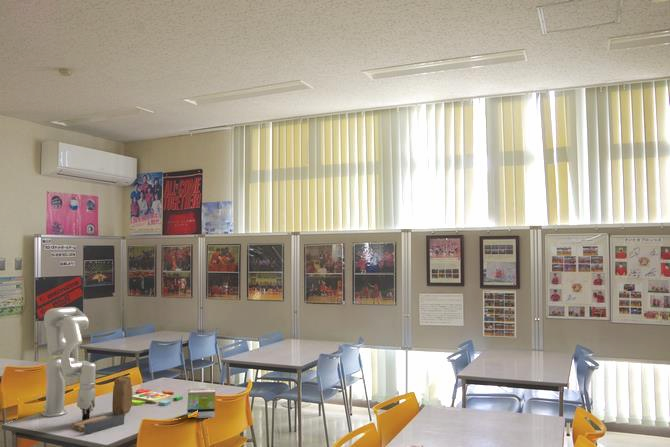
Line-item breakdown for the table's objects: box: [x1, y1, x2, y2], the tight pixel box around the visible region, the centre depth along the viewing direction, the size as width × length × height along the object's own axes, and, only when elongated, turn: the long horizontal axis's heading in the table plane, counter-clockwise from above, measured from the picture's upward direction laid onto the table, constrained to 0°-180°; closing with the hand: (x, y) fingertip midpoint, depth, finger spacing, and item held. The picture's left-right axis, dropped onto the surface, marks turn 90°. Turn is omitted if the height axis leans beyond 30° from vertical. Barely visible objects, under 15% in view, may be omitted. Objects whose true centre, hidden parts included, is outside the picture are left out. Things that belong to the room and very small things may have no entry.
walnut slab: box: [70, 415, 108, 433], centre depth 288 cm, size 12×18×3 cm, turn 146°
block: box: [112, 376, 133, 415], centre depth 314 cm, size 11×8×20 cm
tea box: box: [186, 387, 216, 419], centre depth 310 cm, size 15×10×15 cm
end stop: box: [83, 413, 126, 435], centre depth 284 cm, size 2×22×5 cm, turn 148°
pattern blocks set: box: [132, 388, 184, 407], centre depth 345 cm, size 38×34×3 cm
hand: (85, 420), depth 293 cm, fingers closed
